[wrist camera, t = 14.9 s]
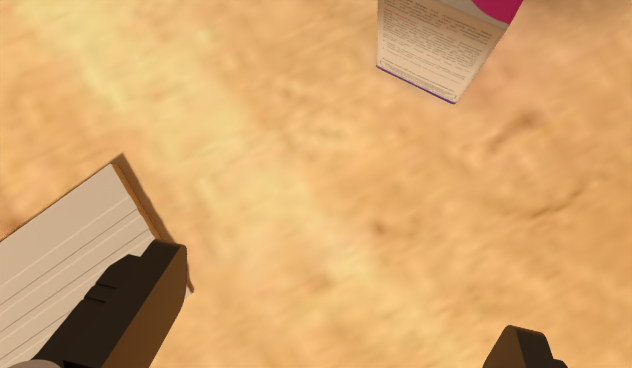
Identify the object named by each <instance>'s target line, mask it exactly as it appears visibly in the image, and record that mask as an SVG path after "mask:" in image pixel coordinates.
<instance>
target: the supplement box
mask: <svg viewBox="0 0 632 368" xmlns="http://www.w3.org/2000/svg"><path fill="white" fill-rule="evenodd" d="M522 1H523V0H378V13H377V14H378V20H377V65H376V67H377V68H379V69H381V70H382V71H384V72H387V73H388V74H391V75H393V76H395V77H397V78H399V79H401V80H404V81H406V82H408V83H410V84H412V85H414V86H416V87H418V88H420V89H422V90H424V91H426V92H428V93H430V94H432V95H434V96H436V97H438V98H440V99H443V100H445V101H447V102H449V103H451V104H455V103H456V102H457V101H458V100H459V99H460V97H461V96H462V94H463V93H464V91H465V90H466V88H467V87H468V85H469V84H470V83H471V81H472V80H473V78H474V77H475V75H476V74H477V72H478V71H479V70H480V68H481V67H482V65H483V64H484V62H485V61H486V59H487V58H488V56H489V55H490V53H491V52H492V50H493V49H494V47H495V46H496V44H497V43H498V41H499V40H500V38H501V37H502V36H503V34H504V33H505V31H506V30H507V28H508V27H509V25H510V23H511V21H512V20H513V18H514V16H515V14H516V12H517V11H518V9H519V7H520V5H521V3H522Z"/></svg>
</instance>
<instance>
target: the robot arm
mask: <svg viewBox="0 0 632 368" xmlns="http://www.w3.org/2000/svg"><path fill="white" fill-rule="evenodd" d="M186 284H187V248H186V246H185V245H182V244H177V243H173V242H169V241H165V240H161V239H154V240H153V241H152V242H151V243H150V244H149V246H148V247H147V248H146V250H145V251H144V252H143V254H142V255H141V256H135V255H131V254H128V255H126V256H124V257H123V258H121V259H119V260H118V261H116V262H115V263H113V264H111V265H110V266H108V268H107V269H106V270H105V271H104V273H103V274H102V275H101V276H100V277H99V279H98V280H97V281H96V282H95V285H94V286H92V287H91V288H90V290H89V291H88V292H87V293H86V294H85V296H84V299H83V300H81V301H80V302H79V303H78V304H77V305H76V307H75V308H74V309H73V310H72V312H71V313H70V314H69V315H68V316H67V318H66V319H65V320H64V321H63V322H62V324H61V325H60V326H59V327H58V329H57V330H56V331H55V332H54V333H53V335H52V336H51V337H50V338H49V340H48V341H47V342H46V343H45V344H44V346H43V347H42V348H41V349H40V350H39V352H38V353H37V354H36V355H35V356H34V357H33V358H32V359H30V360H28V361H24V362H20V363H17V364H15V365H12V366H10V367H8V368H149V366H150V365H151V363H152V361H153V359H154V357H155V356H156V354H157V352H158V350H159V348H160V346H161V345H162V343H163V341H164V339H165V337H166V336H167V334H168V332H169V330H170V328H171V327H172V325H173V323H174V321H175V319H176V318H177V316H178V314H179V312H180V310H181V307H182V305H183V302H184V299H185V294H186ZM482 368H568V367H567V366H566V365H565V363H564V362H563V361H561V360H557V359H553V356H552V353H551V350H550V347H549V344H548V341H547V339H546V337H545V335H544V334H543V333H541V332H537V331H533V330H529V329H525V328H520V327H516V326H512V325H508V326H507V327H506V328H505V329H504V330H503V332H502V334H501V335H500V337H499V339H498V340H497V342H496V344H495V345H494V347H493V349H492V350H491V352H490V354H489V355H488V357H487V359H486V360H485V362H484V364H483V367H482Z"/></svg>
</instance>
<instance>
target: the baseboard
mask: <svg viewBox="0 0 632 368" xmlns="http://www.w3.org/2000/svg"><path fill="white" fill-rule="evenodd" d="M154 239H161V238H160V236H159V234H158V232H157V231H156V229H155V227H154V226H153V224H152V222H151V221H150V219H149V217H148V215H147V214H146V212H145V210H144V209H143V207H142V205H141V204H140V202H139V200H138V198H137V197H136V195H135V193H134V192H133V190H132V188H131V187H130V185H129V183H128V181H127V180H126V178H125V176H124V175H123V173H122V171H121V170H120V168H119V166H118V165H116V164H112V163H110V164H109V165H107V166H106V167H105V168H103V169H102V170H100V171H99V172H98V173H96V174H95V175H93V176H92V177H91V178H89V179H88V180H86V181H85V182H84V183H82V184H81V185H80V186H78V187H77V188H75V189H74V190H73V191H71V192H70V193H68V194H67V195H66V196H64V197H63V198H61V199H60V200H59V201H57V202H56V203H54V204H53V205H52V206H50V207H49V208H48V209H46V210H45V211H43V212H42V213H41V214H39V215H38V216H36V217H35V218H34V219H32V220H31V221H29V222H28V223H27V224H25V225H24V226H22V227H21V228H20V229H18V230H17V231H16V232H14V233H13V234H11V235H10V236H9V237H7V238H6V239H4V240H3V241H2V242H0V368H8V367H10V366H12V365H15V364H17V363H20V362H24V361H28V360H30V359H32V358H33V357H34V356H35V355H36V354H37V353H38V352H39V350H40V349H41V348H42V347H43V346H44V344H45V343H46V342H47V341H48V340H49V338H50V337H51V336H52V335H53V333H54V332H55V331H56V330H57V329H58V327H59V326H60V325H61V324H62V322H63V321H64V320H65V319H66V318H67V316H68V315H69V314H70V313H71V312H72V310H73V309H74V308H75V307H76V305H77V304H78V303H79V302H80V301H81V300H83V299H84V296H85V294H86V293H87V292H88V291H89V290H90V288H91V287H92V286H94V285H95V282H96V281H97V280H98V279H99V277H100V276H101V275H102V274H103V273H104V271H105V270H106V269H107V268H108V266H110V265H111V264H113V263H115V262H116V261H118V260H119V259H121V258H123V257H124V256H126V255H128V254H131V255H135V256H141V255H142V254H143V252H144V251H145V250H146V248H147V247H148V246H149V244H150V243H151V242H152V241H153V240H154ZM161 240H162V239H161ZM192 293H193V292H192V290H191V289H190V287H189V285H188V283H187V284H186V294H185V298H186V297H188V296H189V295H191V294H192Z"/></svg>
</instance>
